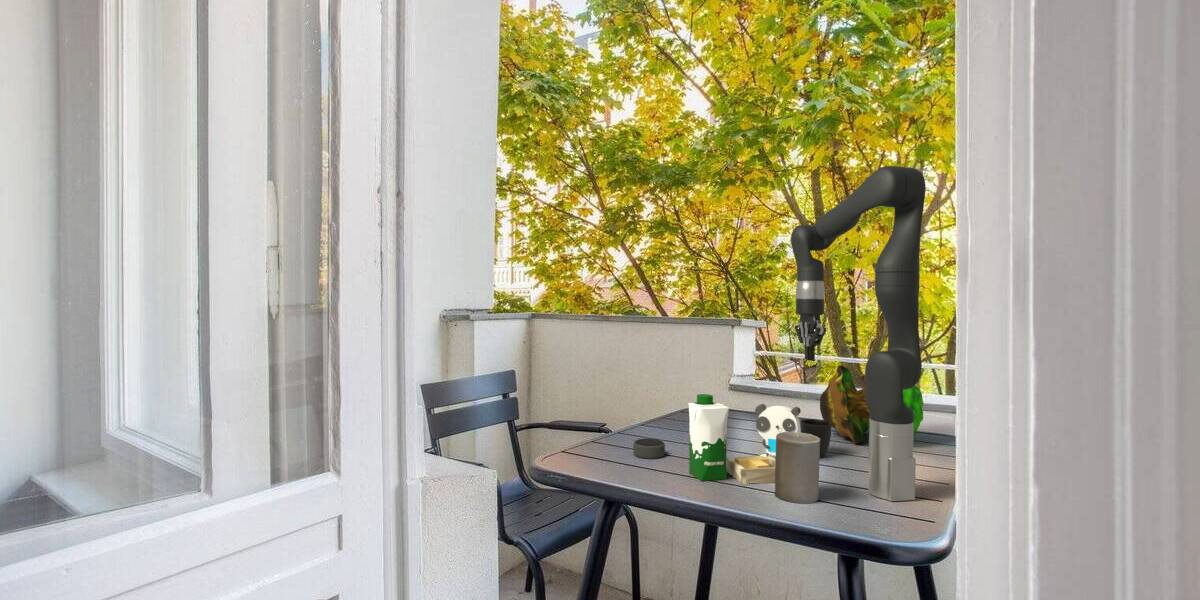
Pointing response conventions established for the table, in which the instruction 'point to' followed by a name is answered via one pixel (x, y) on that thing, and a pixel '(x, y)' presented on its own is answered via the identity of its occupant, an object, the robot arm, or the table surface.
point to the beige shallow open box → (752, 472)
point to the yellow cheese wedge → (752, 462)
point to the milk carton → (707, 438)
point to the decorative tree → (858, 406)
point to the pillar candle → (797, 467)
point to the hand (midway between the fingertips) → (809, 360)
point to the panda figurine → (775, 424)
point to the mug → (818, 432)
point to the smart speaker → (649, 448)
